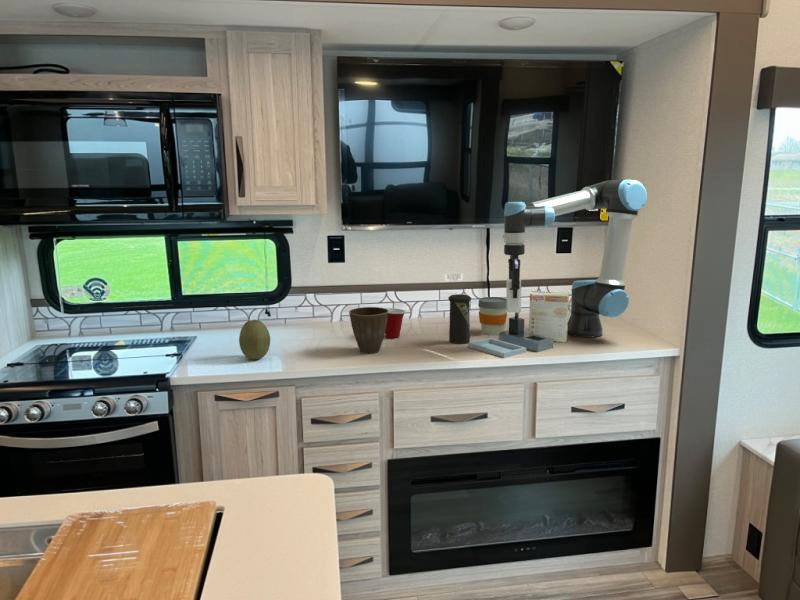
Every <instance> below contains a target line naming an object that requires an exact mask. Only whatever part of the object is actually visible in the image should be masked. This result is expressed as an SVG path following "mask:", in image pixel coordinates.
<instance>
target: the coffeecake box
mask: <svg viewBox="0 0 800 600" xmlns="http://www.w3.org/2000/svg"><path fill="white" fill-rule="evenodd" d="M569 299H570V293H569V292H556V291H554V292H553V291H538V290H537V291H536V290H535V291H531V293H530V294H529V319H528V320H529V323H528V333H532V334H536V335H540V336H544V337H548V338H553V339H554V341H556V343H557V342H558V343H566V342H567V341H568V340H567V339H568V334H567V329H568V321H569V304H570V303H569ZM554 341H553V342H554Z"/></svg>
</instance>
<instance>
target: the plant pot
mask: <svg viewBox="0 0 800 600" xmlns="http://www.w3.org/2000/svg"><path fill="white" fill-rule="evenodd" d="M385 308H386V307H385ZM385 308H384V307H376V306H364V307H363V306H362V307H357V308H352V309H351V310H349V311H348V313H349V319H350V324H351V325H350V326H351V328H352V329H351V330H352V332H353V335H354V338H355V342H356V343H357V347H358V349H359V352H360V353H362V354H367V355H368V354H369V355H370V354H377V353H379V352H380V350H381V347H382V344H383V341H384V337H385V330H386V324H387V317H388V310H387V309H385Z"/></svg>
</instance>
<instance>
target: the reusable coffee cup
mask: <svg viewBox="0 0 800 600" xmlns="http://www.w3.org/2000/svg"><path fill="white" fill-rule="evenodd" d="M477 306H478V308H479V311H478V317H479V318H478V319H479V323H480V326H481V334H482V335H483V336H484V335H492V336H494V335H499V332H504V329H505V324H506V322H507V317H508V312H507V311H506V297H505V298H504V297H500V296H499V297H498V296H487V297H480V298H479V299H478V305H477Z"/></svg>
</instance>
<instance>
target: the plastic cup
mask: <svg viewBox="0 0 800 600" xmlns="http://www.w3.org/2000/svg"><path fill="white" fill-rule="evenodd" d="M385 309H387V310H388V317H387V324H386V330H385V334H384V337H385V338H386V339H389V338H390V339H391V340H392V339H393V340H395V338H396V339H399V338H400V336H401V335H400V334H401V329H402V324H403V318H404V315H405V313H406V310H404V309H402V308H394V307H393V308H392V307H385Z"/></svg>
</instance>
